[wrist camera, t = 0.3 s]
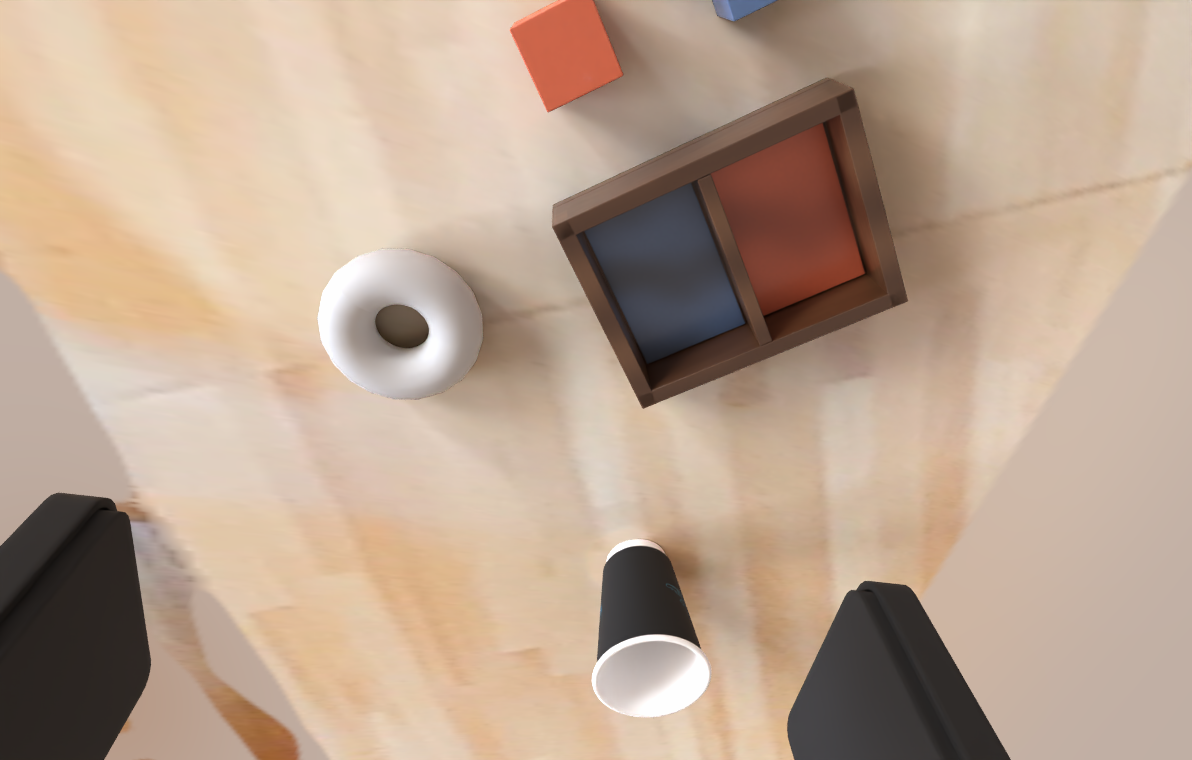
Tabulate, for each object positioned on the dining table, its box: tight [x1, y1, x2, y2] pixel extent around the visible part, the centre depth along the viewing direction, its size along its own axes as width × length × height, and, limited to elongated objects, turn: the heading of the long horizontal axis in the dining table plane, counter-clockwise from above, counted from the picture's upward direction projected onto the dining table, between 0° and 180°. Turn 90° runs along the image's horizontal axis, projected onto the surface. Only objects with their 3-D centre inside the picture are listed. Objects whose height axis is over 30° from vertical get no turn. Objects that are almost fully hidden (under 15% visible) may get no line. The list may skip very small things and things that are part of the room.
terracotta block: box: [510, 0, 623, 112], centre depth 38 cm, size 4×4×4 cm
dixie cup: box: [592, 539, 711, 717], centre depth 53 cm, size 8×8×11 cm
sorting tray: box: [552, 78, 908, 408], centre depth 43 cm, size 13×17×4 cm
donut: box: [317, 248, 483, 399], centre depth 45 cm, size 10×4×10 cm
